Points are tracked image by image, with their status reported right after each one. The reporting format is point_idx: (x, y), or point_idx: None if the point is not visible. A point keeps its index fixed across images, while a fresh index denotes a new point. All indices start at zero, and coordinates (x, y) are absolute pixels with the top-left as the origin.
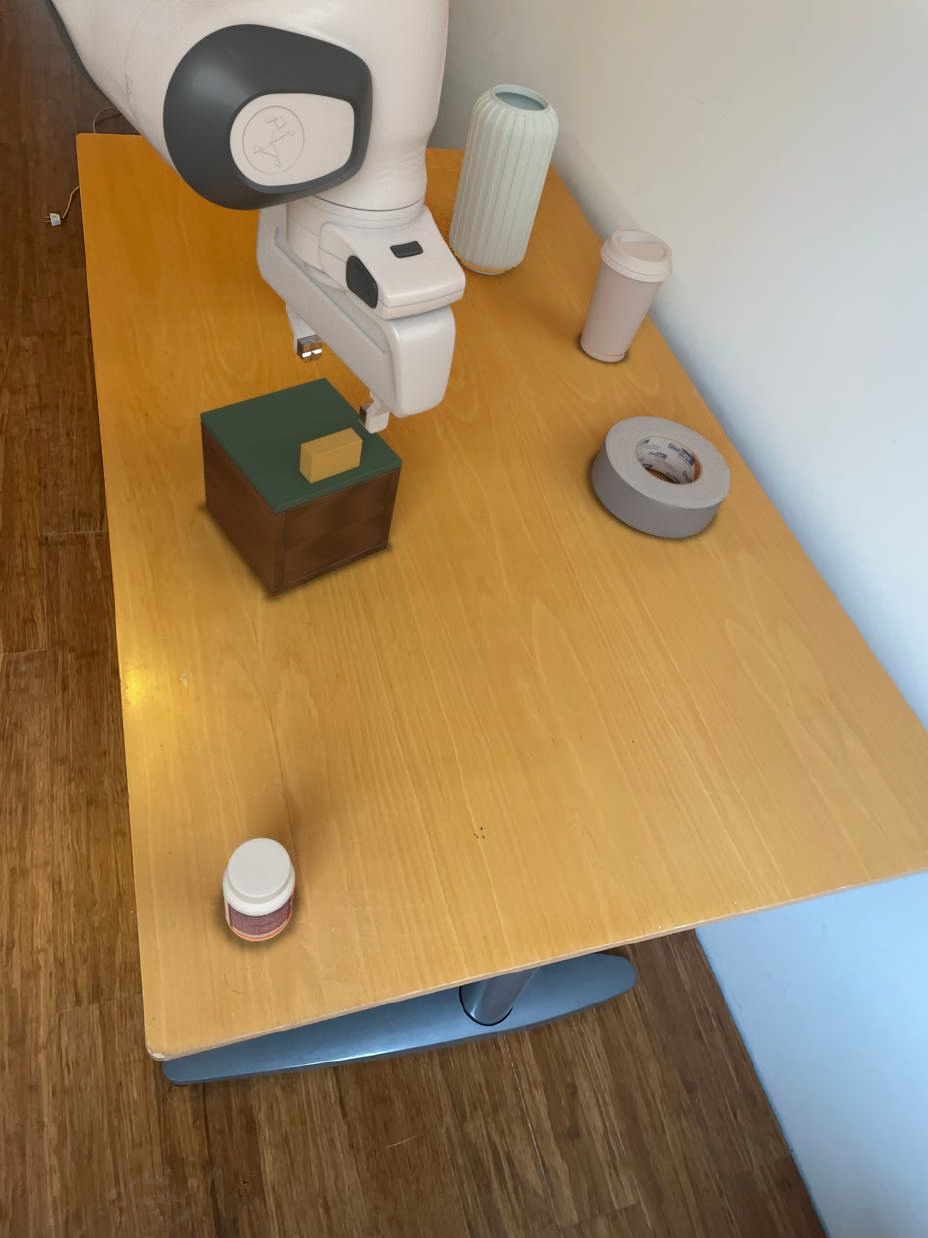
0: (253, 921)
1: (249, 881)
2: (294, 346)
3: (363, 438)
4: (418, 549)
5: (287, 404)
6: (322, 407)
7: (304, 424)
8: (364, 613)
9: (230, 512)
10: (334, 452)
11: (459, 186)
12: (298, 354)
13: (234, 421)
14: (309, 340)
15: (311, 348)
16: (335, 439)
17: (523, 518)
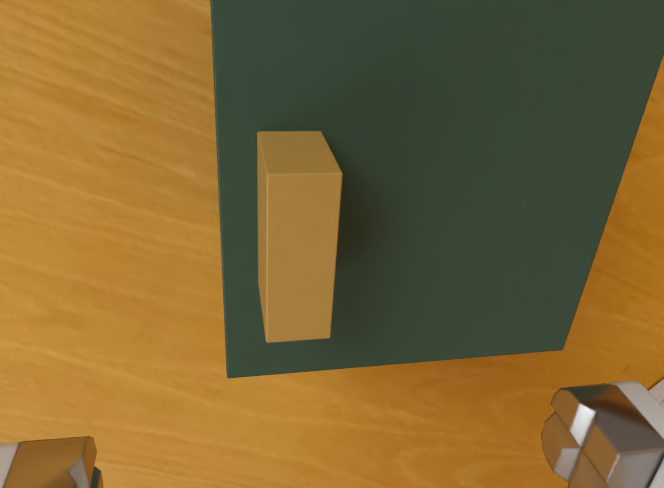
0: None
1: None
2: (651, 401)
3: (341, 335)
4: (191, 267)
5: (549, 232)
6: (487, 300)
7: (465, 234)
8: (83, 93)
9: None
10: (265, 248)
11: None
12: (607, 391)
13: (592, 68)
14: (624, 484)
15: (589, 459)
16: (306, 278)
17: (175, 438)
